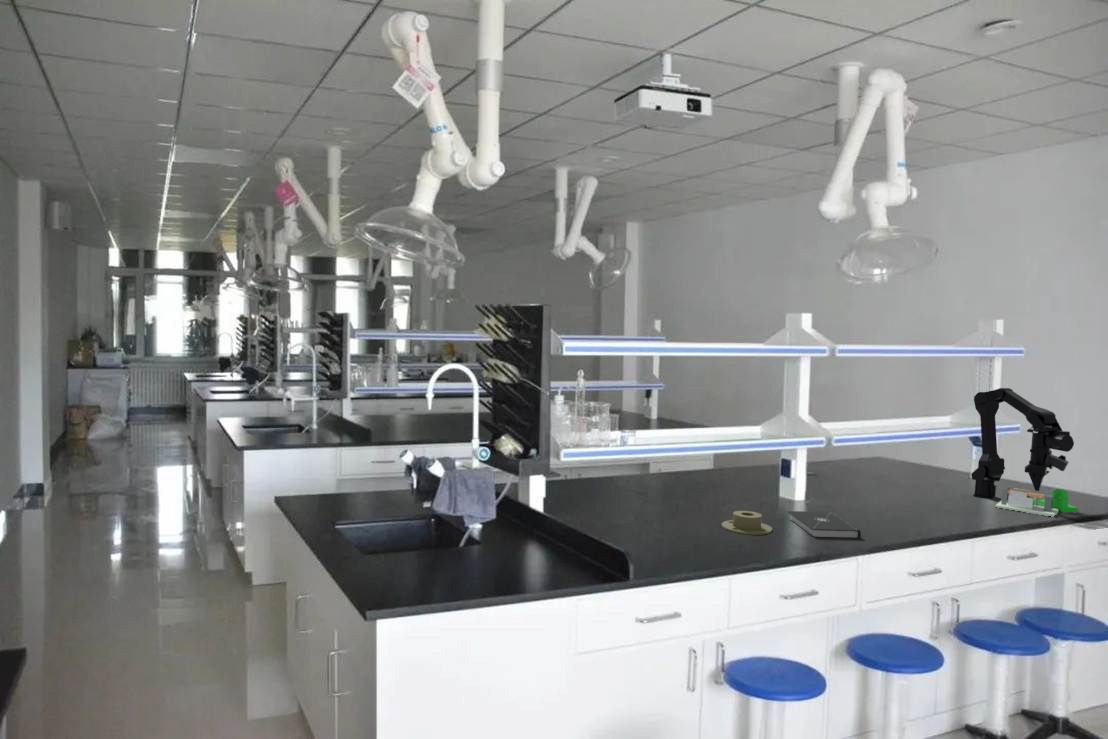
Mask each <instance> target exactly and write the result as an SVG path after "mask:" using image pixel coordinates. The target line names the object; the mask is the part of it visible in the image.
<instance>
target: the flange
mask: <svg viewBox="0 0 1108 739" xmlns="http://www.w3.org/2000/svg"><path fill="white" fill-rule="evenodd" d="M732 514H733V515H732V519H729V520H725V521H722V522H721V527H722V528H723V530H724V529H725V530H726V531H729V532H732V533H736V534H741V535H742V534H743V535H749V536H750V535H751V536H758V535H759V536H761V535H763V536H764V535H767V534H770V533H772V532H773V527H772V526H770V525H768V524H766V523H763V522H762V520H763V517H762V516H763V515H762V514H761V513H759V512H756V511H750V510H748V511H747V510H736V511H735V510H734V511H733V513H732Z"/></svg>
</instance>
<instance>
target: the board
mask: <svg viewBox="0 0 1108 739" xmlns="http://www.w3.org/2000/svg"><path fill="white" fill-rule="evenodd" d="M995 507H997V508H996V509H999V508H1003V509H1002V510H1005V509H1009V510H1008V511H1011V510H1015V511H1014V512H1017V511H1021V512H1020V513H1023V512H1026V513H1025V514H1029V513H1031V515H1036V514H1038V515H1037V516H1042V515H1044V516H1043V517H1048V516H1051V517H1050V518H1055V517H1056V516H1057V515H1058V513H1060V512H1059V509H1057V508H1052V511H1051V512H1049V511H1044V506H1041V505H1036V504H1035V507H1034V508H1033V509H1032V510H1031V509H1025V508H1019V507H1012V506H1008V503H1007V505H1004V504H1001V500H1000V501H998V502H997V503H996V504H995ZM1055 515H1056V516H1055ZM1054 516H1055V517H1054Z"/></svg>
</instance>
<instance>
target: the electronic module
mask: <svg viewBox="0 0 1108 739" xmlns="http://www.w3.org/2000/svg"><path fill="white" fill-rule="evenodd" d="M1008 490H1011V494H1010V493H1008ZM1014 490H1015V491H1014ZM1020 491H1022V492H1020ZM1027 492H1029V493H1031V490H1030V489H1023V488H1017V487H1013V489H1011V487H1007V486H1004V488H1002V492H1001V499H1000V501H1001V504H1004V505H1007V503H1008V506H1012V507H1019V508H1025V509H1031V510H1032V509H1033V508H1034V507H1035V505H1036V504H1037V503H1036V500H1037V497H1031V496H1027ZM1044 500H1045V504H1044V511H1049V512H1051V511H1052V507H1053V496H1052V494H1051V495H1049V494H1045V498H1044Z"/></svg>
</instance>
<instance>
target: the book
mask: <svg viewBox="0 0 1108 739" xmlns="http://www.w3.org/2000/svg"><path fill="white" fill-rule="evenodd" d="M786 512H787V513H788V514H789V515H790V520H791V521H792V522H793V523H795V524H796V525H797V526H799V527H800V528H801V529H803V530H804V531H805V532H807V533H808V534H810V535H811V536H813V537H815V538H816V537H818V538H820V537H821V538H823V537H824V538H854V539H855V538H857V539H861V538H862V536H861V535H862V534H861V532H862V531H861V530H860V529H859V528H857V527H856V526H854V525H853V524H851V523H849V522H848V521H846V520H844V518H841V517H840V516H839V515H837V514H835V513H833V512H832V511H805V510H804V511H803V510H802V511H797V510H796V511H795V510H786Z"/></svg>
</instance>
